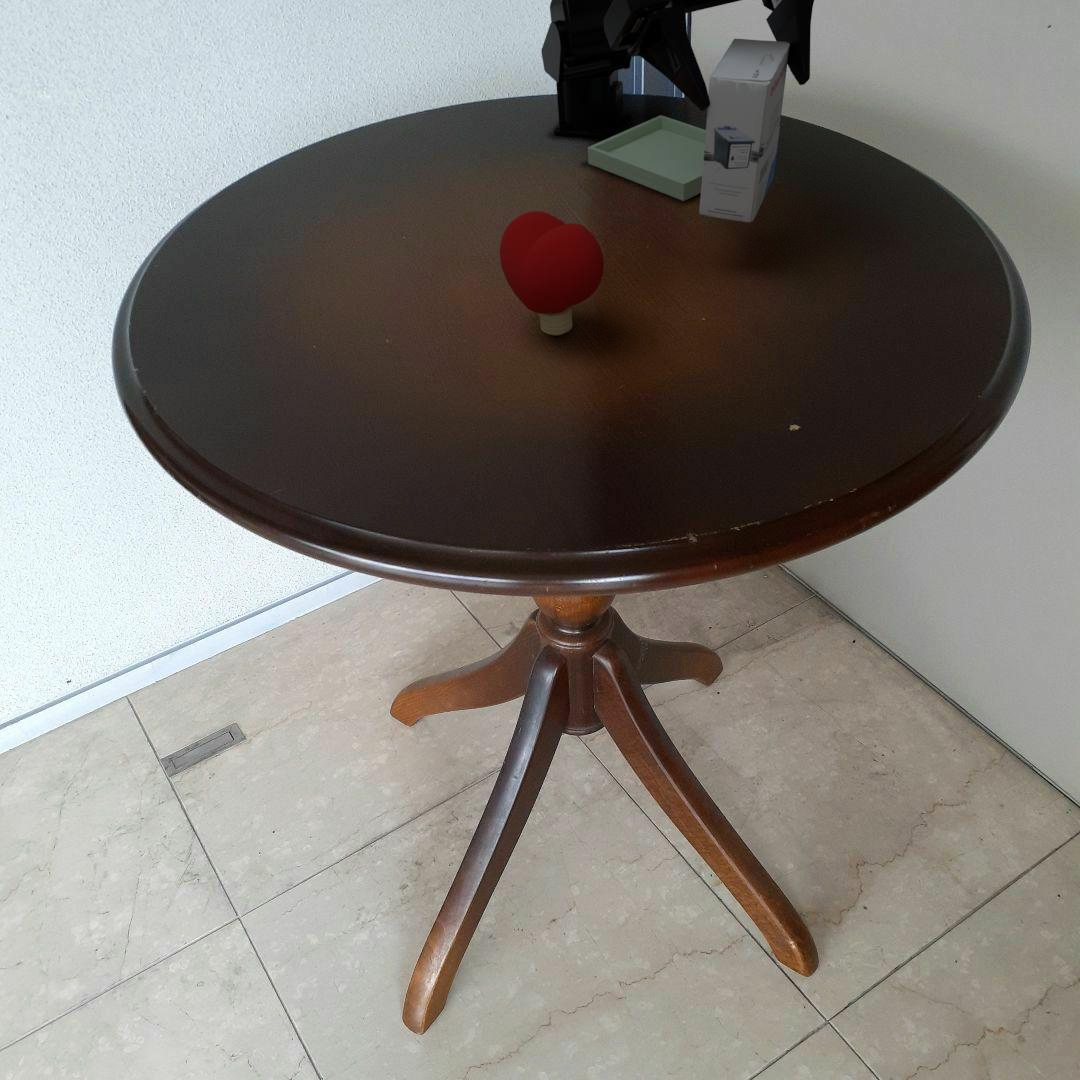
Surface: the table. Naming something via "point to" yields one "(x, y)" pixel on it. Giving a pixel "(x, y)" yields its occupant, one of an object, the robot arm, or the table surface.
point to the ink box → (743, 128)
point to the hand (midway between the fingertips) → (756, 95)
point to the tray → (656, 156)
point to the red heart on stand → (550, 267)
